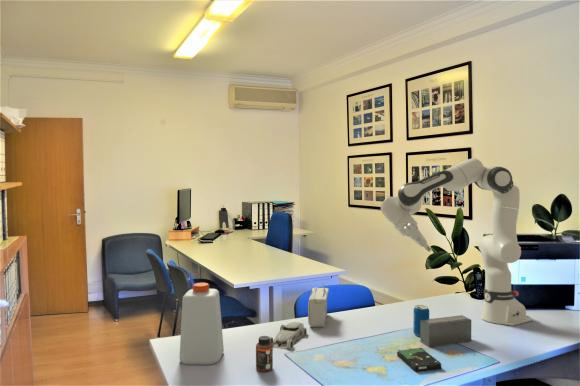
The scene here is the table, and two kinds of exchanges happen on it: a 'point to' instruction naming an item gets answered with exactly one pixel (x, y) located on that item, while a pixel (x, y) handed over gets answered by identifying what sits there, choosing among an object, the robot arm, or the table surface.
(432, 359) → the disk drive
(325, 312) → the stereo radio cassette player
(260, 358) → the supplement bottle
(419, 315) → the beverage can
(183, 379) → the table surface
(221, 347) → the plastic bottle
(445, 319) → the box
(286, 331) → the car model
